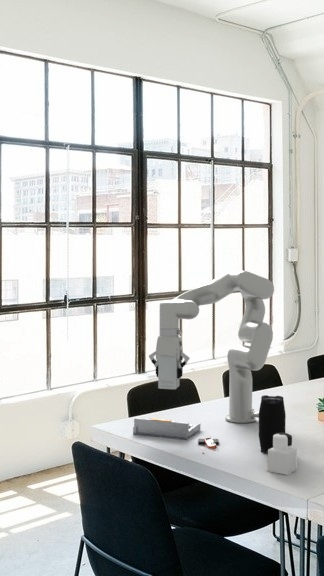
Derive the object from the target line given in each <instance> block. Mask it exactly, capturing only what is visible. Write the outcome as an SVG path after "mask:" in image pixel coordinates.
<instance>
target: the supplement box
mask: <svg viewBox="0 0 324 576" xmlns="http://www.w3.org/2000/svg"><path fill="white" fill-rule="evenodd" d="M177 368H178V366H177V357H170V356H159V357H158V377H157V378H158V379H157V380H158V381H157V386H158V387H157V388H158V389H161V390H162V389H163V390H177V388H179V387H180V381H181V380H180V379H181V378H179V379H178V378H177Z"/></svg>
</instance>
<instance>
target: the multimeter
mask: <svg viewBox="0 0 324 576" xmlns="http://www.w3.org/2000/svg"><path fill="white" fill-rule="evenodd" d="M219 442H220V441H219V439H218V438H212V437H211V436H206V437H204V438H198V441H197V443H198V445H199V446H206V448H208V449H210V450H211V449H212V450H213V451H217V452H219V448H218V447H217V446H219V444H220V443H219ZM202 454H203V455H204V454H205V452H204V451H203V452H202Z"/></svg>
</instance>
